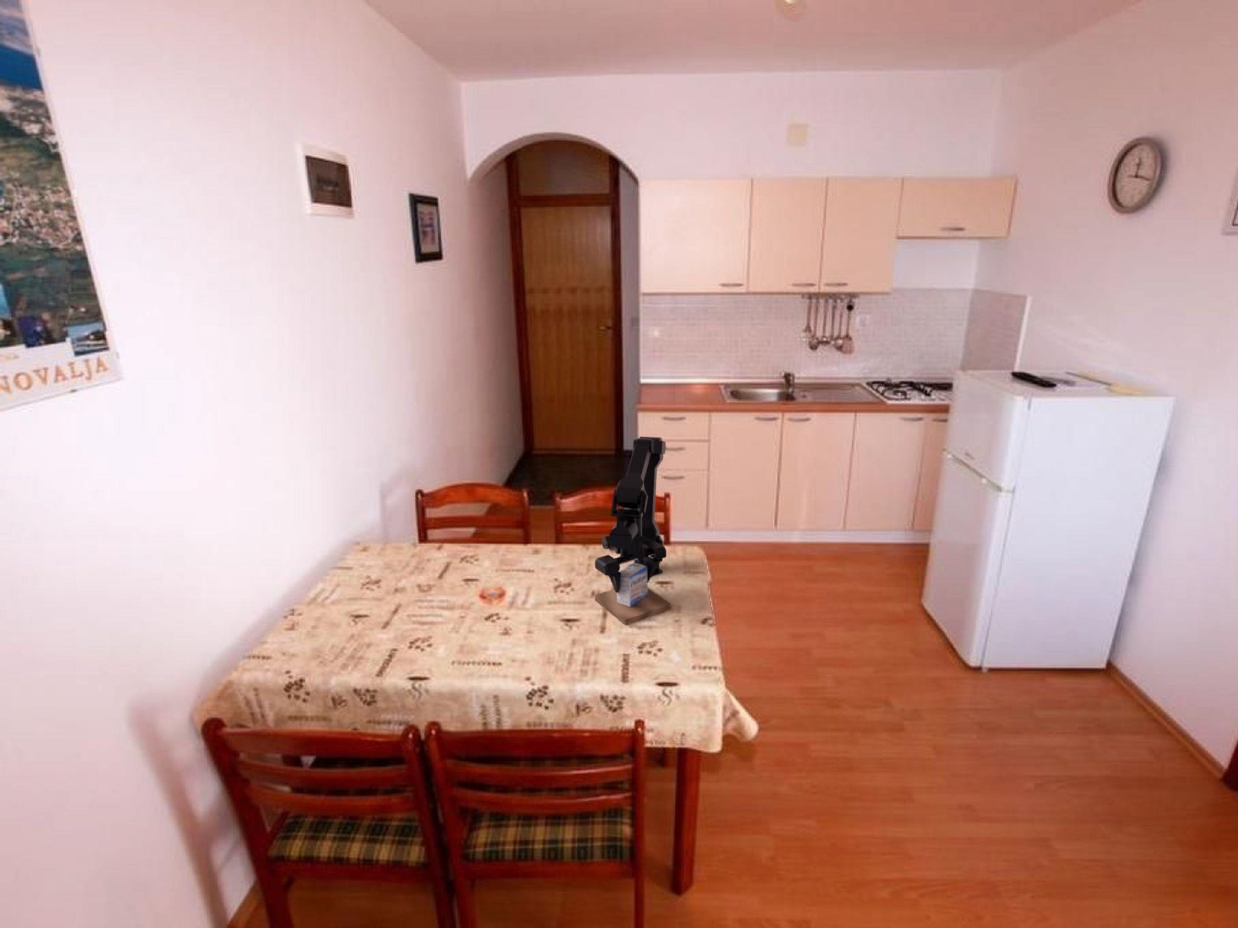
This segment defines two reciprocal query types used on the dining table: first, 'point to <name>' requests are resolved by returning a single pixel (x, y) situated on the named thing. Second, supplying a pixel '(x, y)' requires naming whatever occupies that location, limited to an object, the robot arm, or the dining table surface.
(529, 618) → the dining table surface
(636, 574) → the medicine box
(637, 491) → the robot arm
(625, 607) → the walnut board
